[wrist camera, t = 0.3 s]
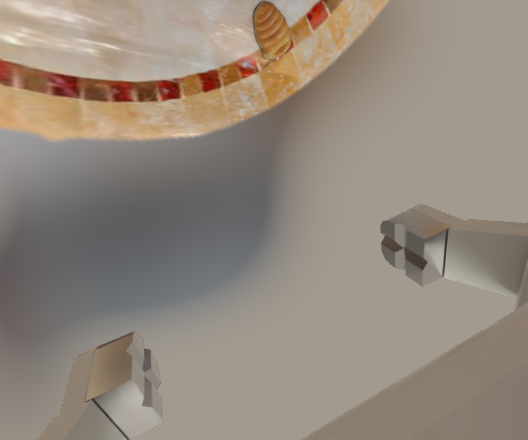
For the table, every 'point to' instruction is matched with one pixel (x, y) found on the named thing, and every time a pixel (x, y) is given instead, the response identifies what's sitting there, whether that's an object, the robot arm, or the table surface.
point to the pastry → (271, 30)
